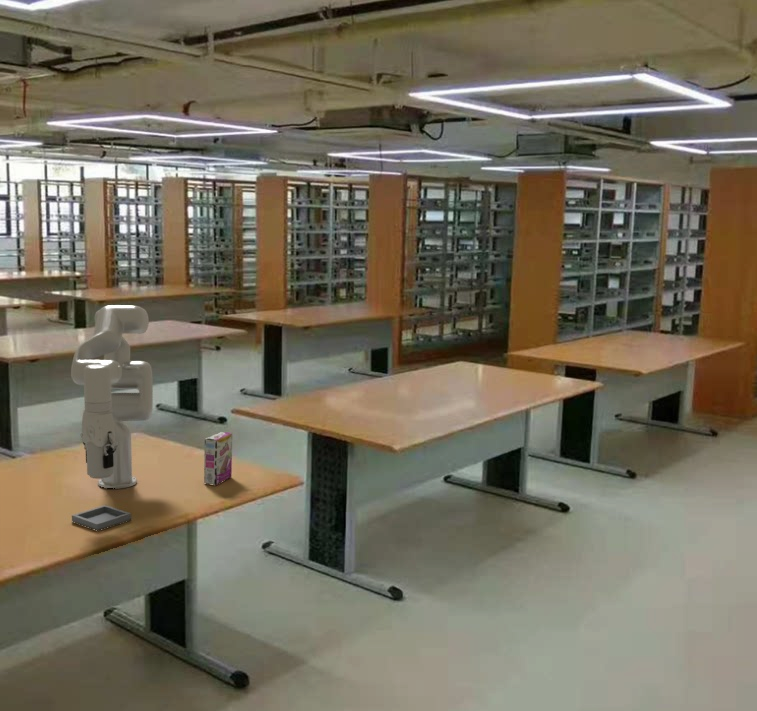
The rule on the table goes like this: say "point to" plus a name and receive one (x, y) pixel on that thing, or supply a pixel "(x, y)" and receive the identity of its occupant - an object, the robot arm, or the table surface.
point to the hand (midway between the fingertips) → (99, 464)
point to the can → (97, 462)
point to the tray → (101, 517)
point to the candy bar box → (218, 458)
